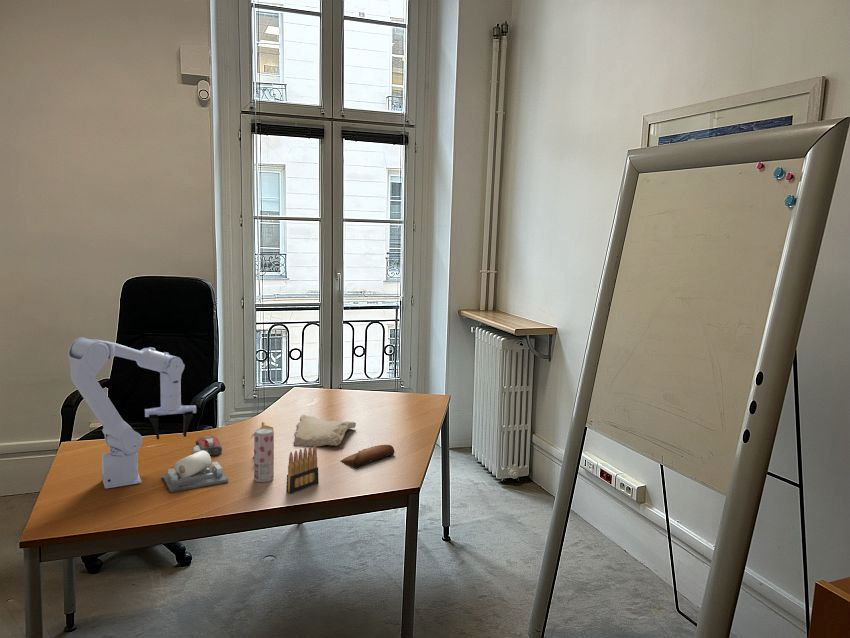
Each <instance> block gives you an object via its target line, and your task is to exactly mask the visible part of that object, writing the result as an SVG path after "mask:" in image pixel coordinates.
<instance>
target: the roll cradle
mask: <svg viewBox="0 0 850 638" xmlns="http://www.w3.org/2000/svg"><path fill="white" fill-rule="evenodd" d="M162 479H163V481H164V483H165V485H166V486H167V488H168V491H169V493H176V492H181V491H186V490H187V489H188V490H193V489H199V488H204V487H205V488H206V487H210V486H216V485H221V484H227V483H229V478H228V476H226V474H225V473H224V472H223V467H222V466H221V465H220V463H219V462H218V461H211V466H209V467H208V468H206V469H204V470H202V471H200V472H198V473H196V474H193V475H191V476H189V477H187V478H185V479H183V478H180V477H179V476H178V475H177V474H176V472H175V467H174V468H172V467H171V468H168V469H167V473H163V474H162Z"/></svg>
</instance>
